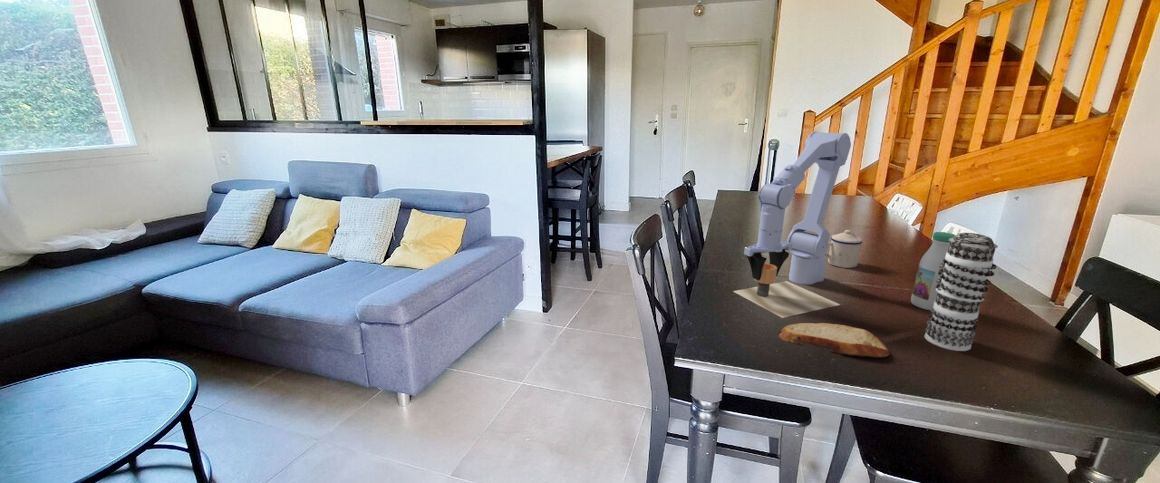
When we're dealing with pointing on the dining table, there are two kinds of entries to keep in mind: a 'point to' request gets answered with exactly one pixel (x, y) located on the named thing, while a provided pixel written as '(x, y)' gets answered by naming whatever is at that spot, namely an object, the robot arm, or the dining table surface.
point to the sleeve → (768, 274)
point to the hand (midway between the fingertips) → (764, 277)
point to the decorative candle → (960, 291)
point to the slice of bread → (836, 339)
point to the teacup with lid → (844, 250)
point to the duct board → (785, 298)
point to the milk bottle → (930, 271)
